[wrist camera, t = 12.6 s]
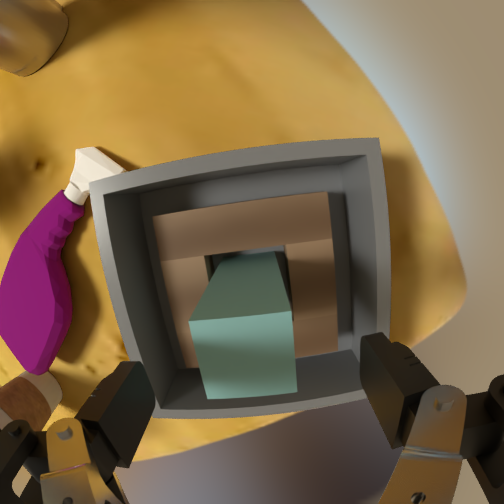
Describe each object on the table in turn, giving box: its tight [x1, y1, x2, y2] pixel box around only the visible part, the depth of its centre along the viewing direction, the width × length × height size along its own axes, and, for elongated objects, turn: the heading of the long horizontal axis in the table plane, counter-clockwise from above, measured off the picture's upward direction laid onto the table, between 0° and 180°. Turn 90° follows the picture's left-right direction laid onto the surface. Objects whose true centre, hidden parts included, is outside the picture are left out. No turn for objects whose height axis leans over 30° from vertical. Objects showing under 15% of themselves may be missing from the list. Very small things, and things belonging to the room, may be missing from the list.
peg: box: [188, 251, 297, 399], centre depth 17 cm, size 4×4×12 cm
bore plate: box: [152, 192, 338, 368], centre depth 22 cm, size 12×12×3 cm
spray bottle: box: [0, 147, 128, 375], centre depth 23 cm, size 3×11×24 cm
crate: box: [89, 138, 391, 419], centre depth 21 cm, size 18×18×7 cm
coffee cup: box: [0, 371, 63, 432], centre depth 20 cm, size 8×8×15 cm
